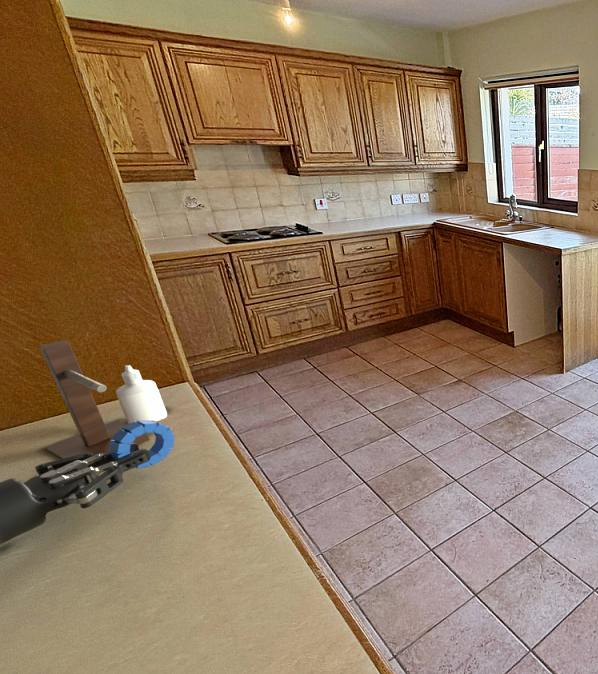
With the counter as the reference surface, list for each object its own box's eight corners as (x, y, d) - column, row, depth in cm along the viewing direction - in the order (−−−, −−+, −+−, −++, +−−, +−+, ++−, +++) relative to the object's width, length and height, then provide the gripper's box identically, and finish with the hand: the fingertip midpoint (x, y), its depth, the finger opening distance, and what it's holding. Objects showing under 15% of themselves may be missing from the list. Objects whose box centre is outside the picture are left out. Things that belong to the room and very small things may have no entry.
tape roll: (144, 470, 78) (96, 455, 72) (176, 430, 81) (133, 412, 75) (152, 474, 77) (104, 459, 71) (184, 433, 80) (142, 416, 74)
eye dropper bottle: (161, 424, 91) (140, 369, 86) (124, 428, 89) (101, 373, 85) (171, 412, 95) (152, 359, 90) (136, 416, 93) (114, 362, 88)
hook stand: (47, 453, 82) (-6, 348, 74) (120, 424, 91) (79, 327, 82) (95, 483, 76) (43, 372, 68) (169, 449, 85) (130, 347, 77)
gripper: (-11, 518, 58) (159, 443, 72) (-57, 482, 63) (111, 419, 77) (16, 563, 60) (174, 482, 75) (-30, 525, 66) (127, 456, 80)
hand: (142, 450), depth 76 cm, fingers closed on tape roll, 2 cm apart
